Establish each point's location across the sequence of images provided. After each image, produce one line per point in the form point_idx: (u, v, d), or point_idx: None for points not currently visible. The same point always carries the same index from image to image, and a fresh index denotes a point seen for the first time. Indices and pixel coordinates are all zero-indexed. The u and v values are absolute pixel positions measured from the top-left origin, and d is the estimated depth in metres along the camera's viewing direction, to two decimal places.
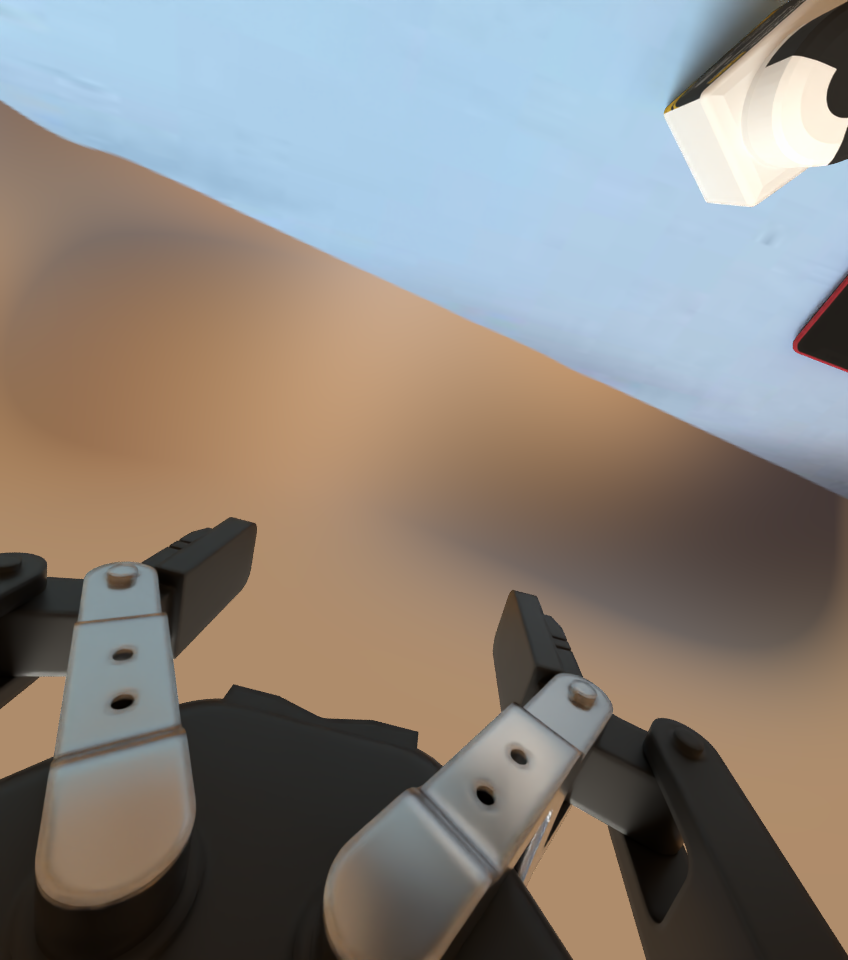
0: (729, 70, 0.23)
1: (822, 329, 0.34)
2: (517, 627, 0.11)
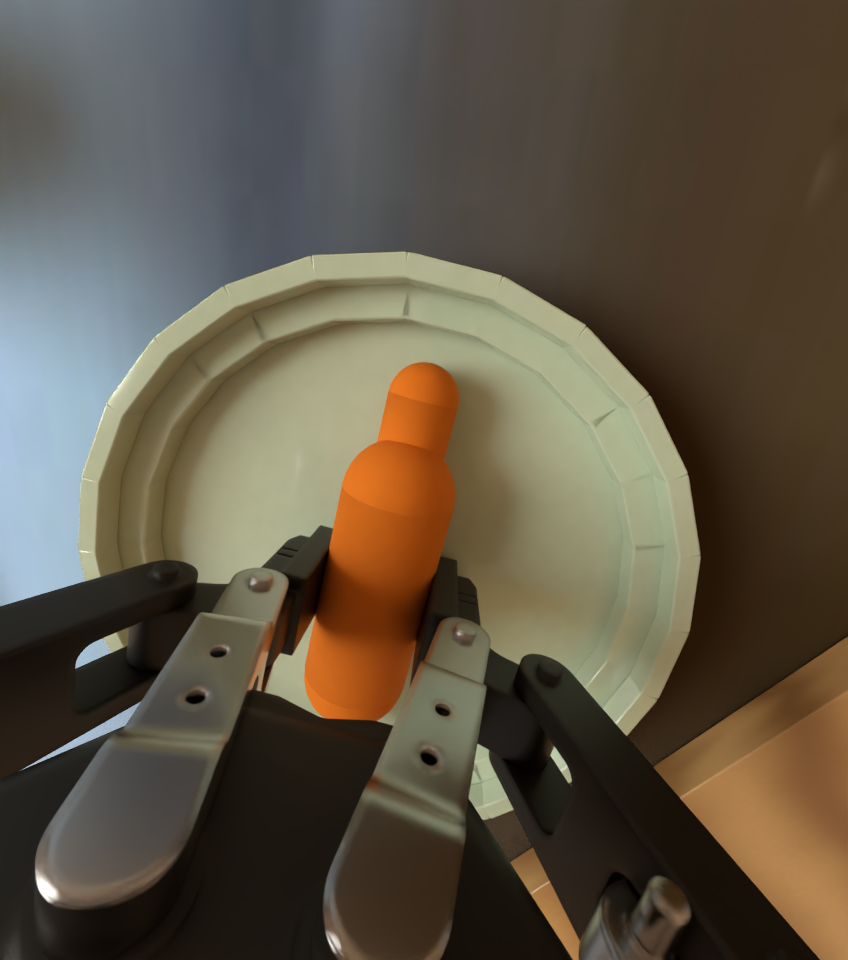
0: None
1: None
2: (431, 585, 0.12)
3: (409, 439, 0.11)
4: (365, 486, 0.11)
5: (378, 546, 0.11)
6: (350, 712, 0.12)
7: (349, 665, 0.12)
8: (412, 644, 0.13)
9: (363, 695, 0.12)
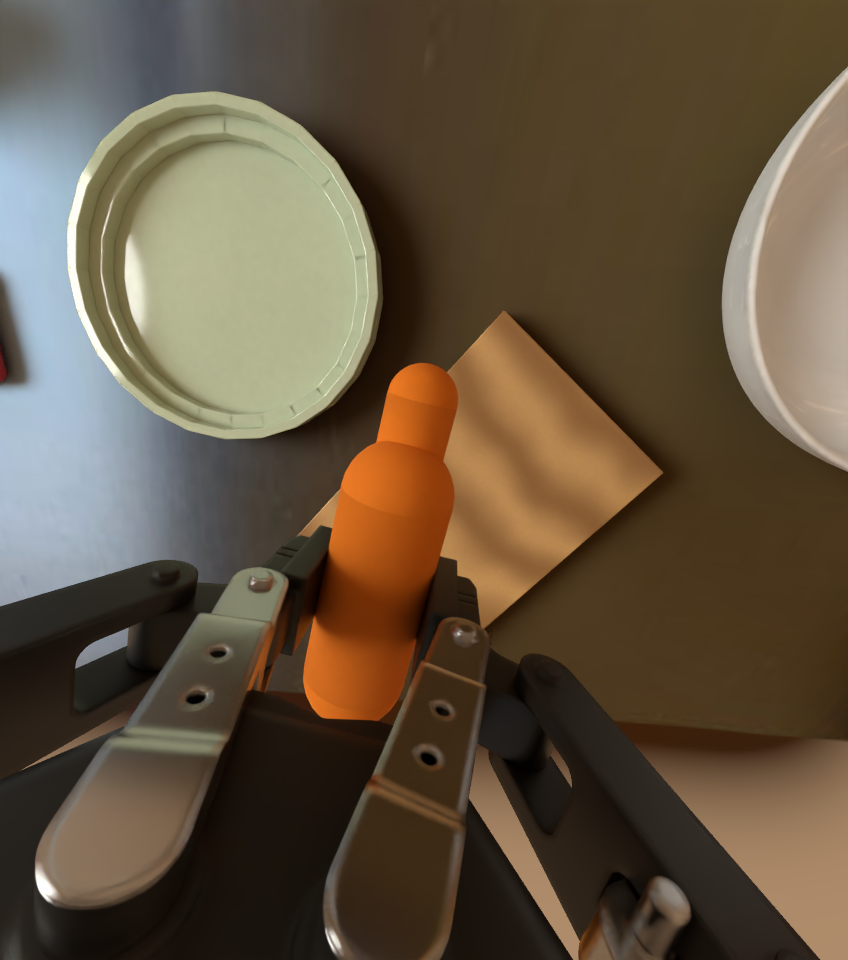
0: None
1: None
2: (431, 585, 0.12)
3: (408, 440, 0.11)
4: (364, 487, 0.11)
5: (377, 547, 0.11)
6: (349, 713, 0.12)
7: (348, 666, 0.12)
8: (411, 645, 0.13)
9: (362, 696, 0.12)
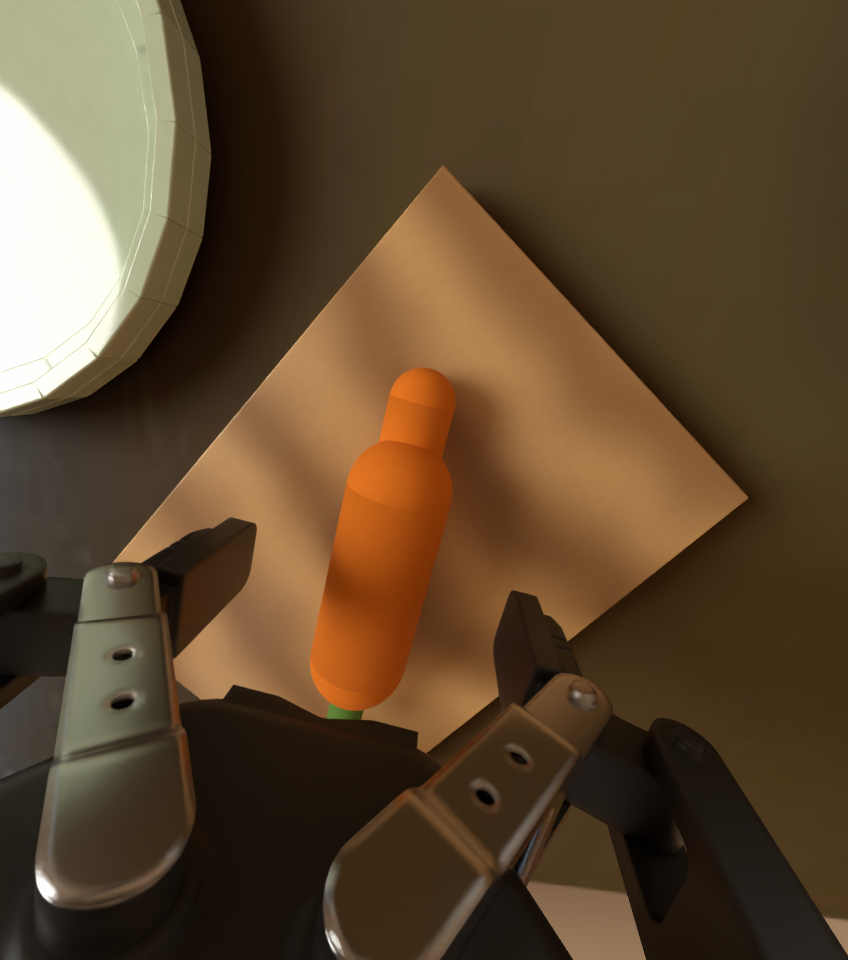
0: None
1: None
2: (517, 627, 0.11)
3: (410, 439, 0.12)
4: (370, 483, 0.12)
5: (382, 539, 0.12)
6: (355, 695, 0.13)
7: (354, 651, 0.13)
8: (412, 631, 0.13)
9: (367, 679, 0.13)
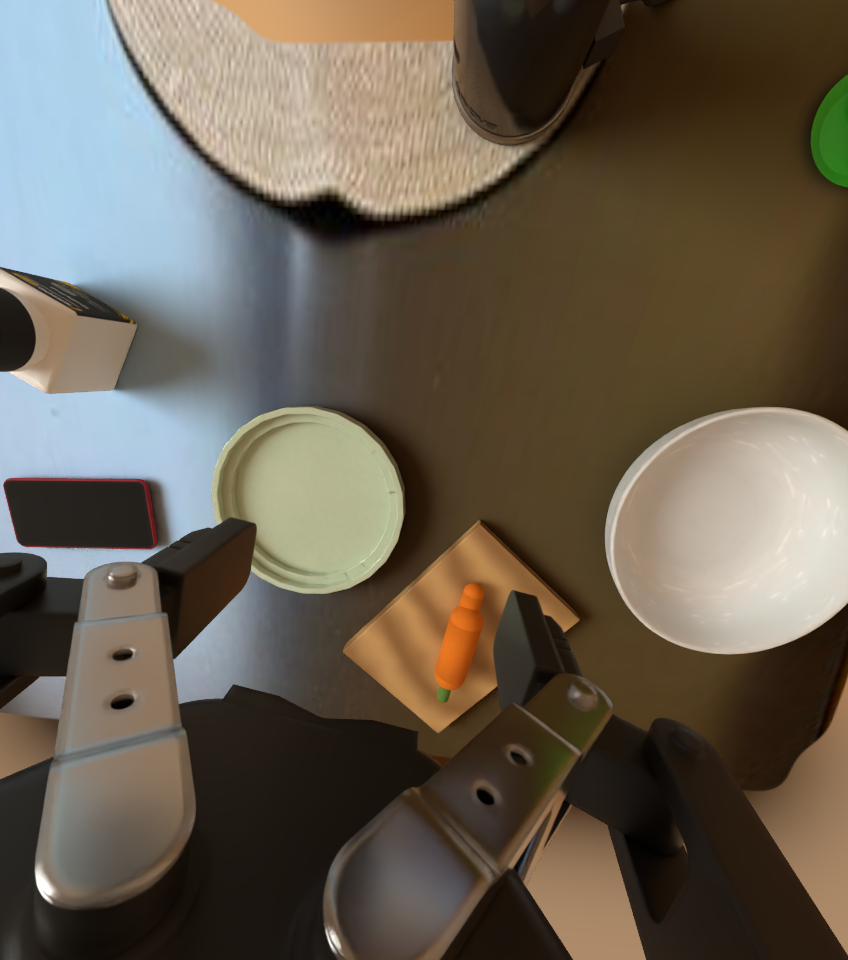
0: (6, 274, 0.32)
1: (23, 489, 0.43)
2: (517, 627, 0.11)
3: (471, 608, 0.40)
4: (460, 623, 0.40)
5: (463, 639, 0.40)
6: (452, 685, 0.41)
7: (453, 671, 0.41)
8: None
9: (456, 680, 0.41)
